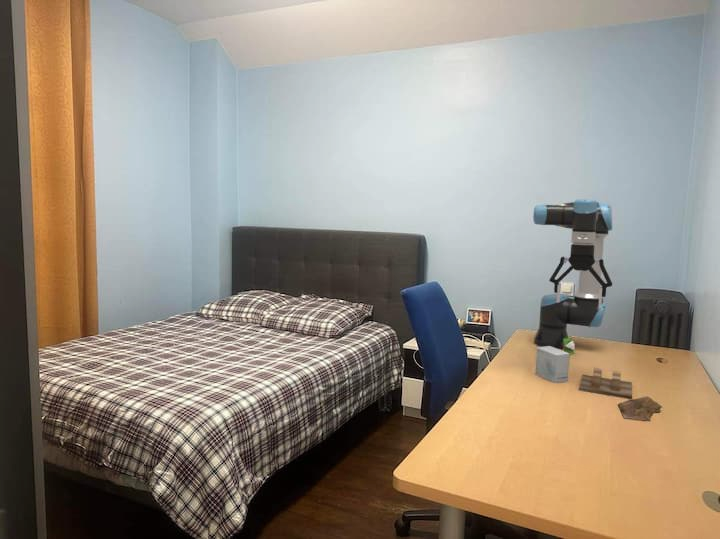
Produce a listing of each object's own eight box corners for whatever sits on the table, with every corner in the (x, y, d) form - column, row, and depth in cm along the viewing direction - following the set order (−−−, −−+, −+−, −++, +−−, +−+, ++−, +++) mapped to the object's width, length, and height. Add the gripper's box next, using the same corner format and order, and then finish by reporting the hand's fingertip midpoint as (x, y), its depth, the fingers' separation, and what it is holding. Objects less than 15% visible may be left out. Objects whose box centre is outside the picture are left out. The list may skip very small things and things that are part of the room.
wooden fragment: (646, 425, 145) (646, 422, 145) (605, 414, 153) (606, 411, 153) (670, 403, 163) (670, 400, 163) (633, 394, 171) (633, 391, 171)
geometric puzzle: (553, 345, 222) (561, 334, 217) (566, 344, 224) (575, 333, 219) (561, 359, 217) (570, 347, 212) (574, 357, 219) (583, 346, 214)
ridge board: (582, 377, 187) (583, 363, 186) (631, 384, 179) (632, 371, 179) (578, 390, 172) (579, 375, 172) (631, 399, 165) (633, 384, 165)
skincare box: (534, 374, 189) (536, 346, 188) (548, 372, 191) (550, 345, 190) (554, 383, 179) (556, 354, 178) (568, 381, 181) (570, 353, 180)
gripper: (543, 242, 179) (540, 302, 182) (622, 246, 168) (617, 309, 170) (546, 241, 186) (543, 298, 188) (623, 245, 174) (618, 305, 177)
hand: (578, 304), depth 179 cm, fingers open, 13 cm apart
